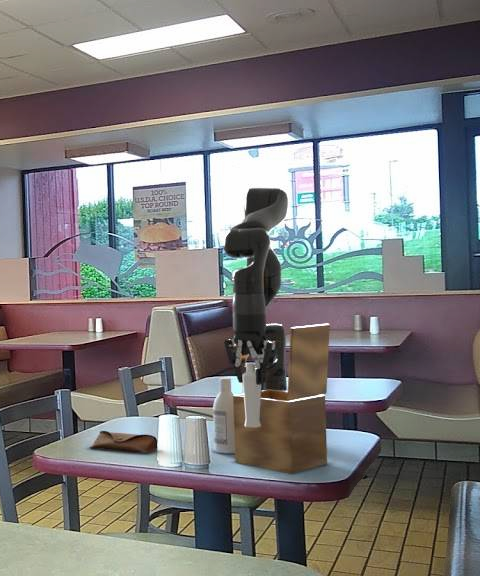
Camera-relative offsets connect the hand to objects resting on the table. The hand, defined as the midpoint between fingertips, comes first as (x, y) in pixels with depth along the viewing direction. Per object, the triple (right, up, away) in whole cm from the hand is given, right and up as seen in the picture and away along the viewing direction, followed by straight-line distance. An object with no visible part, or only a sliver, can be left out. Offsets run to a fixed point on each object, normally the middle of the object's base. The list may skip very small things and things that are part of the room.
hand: (251, 382), depth 197 cm
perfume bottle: (0, -11, 0) cm, 11 cm away
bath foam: (+3, -22, +28) cm, 36 cm away
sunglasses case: (-25, -23, +36) cm, 49 cm away
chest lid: (+15, +5, +5) cm, 17 cm away
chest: (+11, -22, +12) cm, 27 cm away
